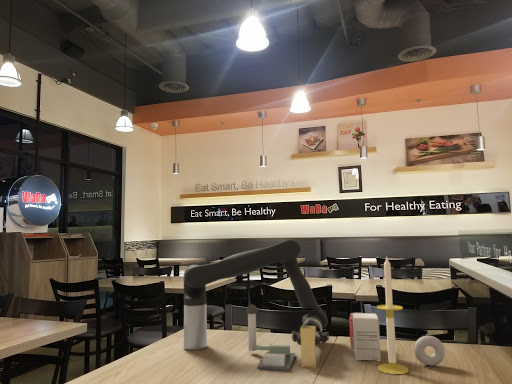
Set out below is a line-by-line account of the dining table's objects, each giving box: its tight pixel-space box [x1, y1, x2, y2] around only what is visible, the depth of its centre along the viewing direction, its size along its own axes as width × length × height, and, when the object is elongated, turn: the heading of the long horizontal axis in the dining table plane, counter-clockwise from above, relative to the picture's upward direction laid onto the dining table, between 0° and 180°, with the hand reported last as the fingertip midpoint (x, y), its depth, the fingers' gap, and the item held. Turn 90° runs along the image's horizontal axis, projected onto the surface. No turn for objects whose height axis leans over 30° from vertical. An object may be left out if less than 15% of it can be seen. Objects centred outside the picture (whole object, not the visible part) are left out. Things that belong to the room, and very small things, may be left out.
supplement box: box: [352, 312, 382, 362], centre depth 145 cm, size 9×9×15 cm
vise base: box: [256, 351, 296, 372], centre depth 141 cm, size 16×11×4 cm, turn 167°
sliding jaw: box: [246, 304, 291, 355], centre depth 150 cm, size 6×17×17 cm, turn 77°
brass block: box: [299, 324, 318, 369], centre depth 137 cm, size 4×5×13 cm
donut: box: [413, 335, 446, 367], centre depth 134 cm, size 10×3×10 cm, turn 80°
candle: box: [375, 257, 410, 375], centre depth 133 cm, size 10×10×38 cm
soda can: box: [348, 312, 354, 349], centre depth 157 cm, size 7×7×13 cm
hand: (307, 342), depth 135 cm, fingers closed on brass block, 5 cm apart
